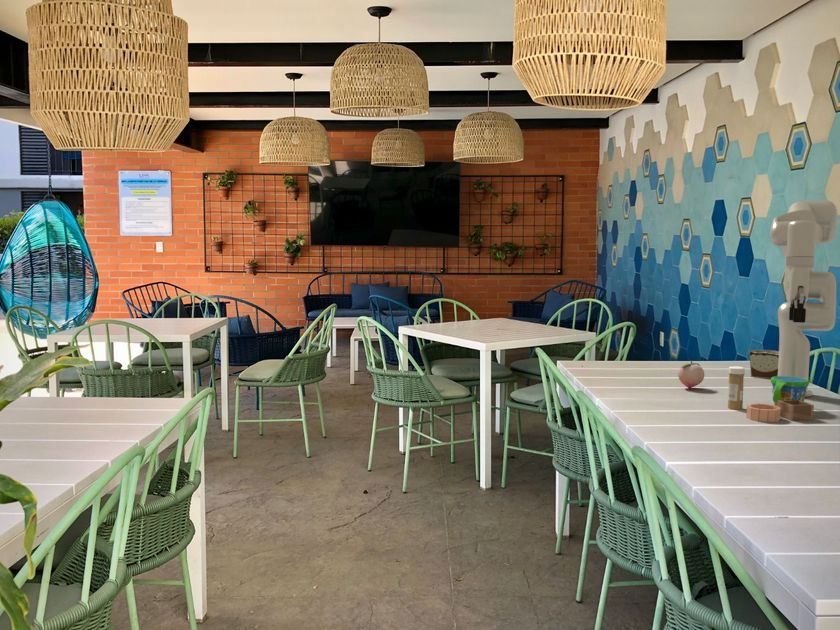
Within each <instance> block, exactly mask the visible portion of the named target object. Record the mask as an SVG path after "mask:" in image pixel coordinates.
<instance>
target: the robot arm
mask: <svg viewBox="0 0 840 630" xmlns="http://www.w3.org/2000/svg"><path fill="white" fill-rule="evenodd" d="M787 210H788V211H787V212H786V213H784V214H779V215H777V216H776V217H774V218H773V220H772V222H771V225H770V229H769V230H770V232H769V238H770V242H771V243H772V244H773V246H776V247H781V249H782V253H783V255H784V256H783V257H784V279H783V280H784V281H783V289H784V294H785V296H786V297H785V298H786V300H787V301H785V302H783V303H782V304H780V306H779V307H778V310H777V318H778V329H779V330H778V331H779V332H778V333H779V343H778V352H779V362H778V376H790V377H799V378H804V379H807V380H809V371H810V370H809V368H810V353H811V343H810V340H809V338H808V337H807V336H806V335H805V334H804V332H803V331H813V332H815V331H816V332H817V331H818V332H827V331H828V332H829V331H832V329H833V328H835V324H836V317H837V316H836V311H837V279H836V276H835V275H834V273H832V272H830V271H825V270H823V271H821V270H820V271H819V270H813V269H814V268H815V255H816V254H815V253H816V246H817V245H818V244H829V243H831V242H833V241H834V238H835V237H836V233H837V232H836V230H837V223H838V209H837V206H836V205H835V203H834V202H833V201H831V200H799V201H796V202H794V203H792V204H791V205H790V206H789V208H788V209H787ZM808 300H819V301H820V302H815V301H808ZM808 388H809V385H808V386H807V388H806V393H805V398H808V397H812V396H813V391H812V390H810V389H808ZM771 392H772V393H773V388H772V389H771Z"/></svg>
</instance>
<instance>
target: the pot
mask: <svg viewBox="0 0 840 630" xmlns="http://www.w3.org/2000/svg"><path fill="white" fill-rule="evenodd" d="M745 416H746V419H748V420H750V421H756V422H760V423H762V422H763V423H777V422H780V421H781V417H780V407H778V406H775V405H774V404H768V403H748V404H746V415H745Z"/></svg>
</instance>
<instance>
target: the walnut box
mask: <svg viewBox="0 0 840 630" xmlns="http://www.w3.org/2000/svg"><path fill="white" fill-rule="evenodd" d="M814 405H815V404H812V403H809V402H807V401H805V400H804V401H801V400H781V401H778V403H777V406H778V407H780V418H782V419H785V420H788V421H791V422H794V421H813V420H814V412H815V411H814V408H815V406H814Z"/></svg>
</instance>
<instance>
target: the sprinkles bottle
mask: <svg viewBox="0 0 840 630" xmlns="http://www.w3.org/2000/svg"><path fill="white" fill-rule="evenodd" d="M745 370H746V368H745V367H742V366H737V365H736V366H729V367H728V386H727V387H728V388H727V409H728V410H733V411H742V410H744V409H743V405H744V404H743V403H744V376H745Z"/></svg>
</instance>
